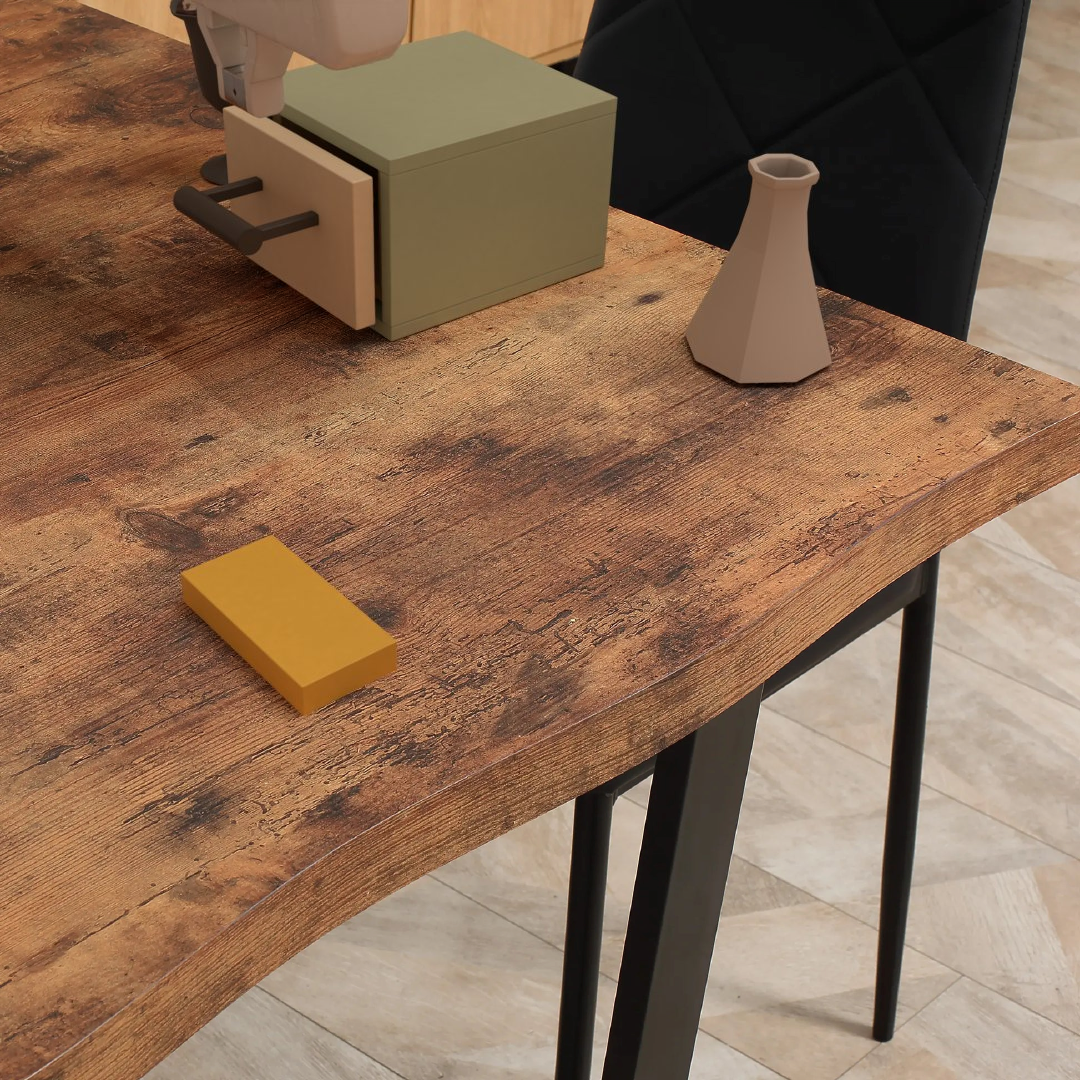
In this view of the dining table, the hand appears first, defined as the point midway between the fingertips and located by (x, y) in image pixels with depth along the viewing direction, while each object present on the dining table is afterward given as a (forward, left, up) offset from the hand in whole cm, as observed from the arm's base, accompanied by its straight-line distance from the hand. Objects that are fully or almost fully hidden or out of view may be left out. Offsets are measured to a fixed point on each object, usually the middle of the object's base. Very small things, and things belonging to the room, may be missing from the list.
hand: (252, 107), depth 73 cm
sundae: (-16, +9, -11) cm, 22 cm away
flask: (+18, +18, -11) cm, 28 cm away
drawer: (0, +6, -10) cm, 12 cm away
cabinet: (0, +11, -11) cm, 15 cm away
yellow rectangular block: (+24, -14, -11) cm, 30 cm away
